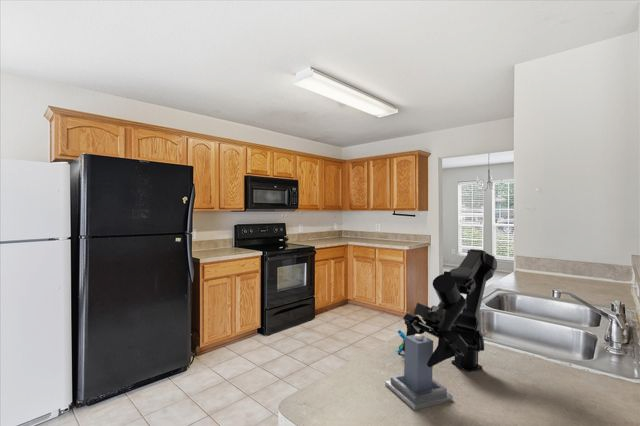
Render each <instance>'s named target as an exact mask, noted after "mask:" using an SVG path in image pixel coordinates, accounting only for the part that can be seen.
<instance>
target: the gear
mask: <svg viewBox="0 0 640 426" xmlns="http://www.w3.org/2000/svg"><path fill="white" fill-rule="evenodd" d="M397 333H398V334H399V336H400V337H401V339H402V343H401V344H399V345H398V348H399V349H398V350H397V351H396V352H397V353H398V354H399V355H400V354H401V353H402V352H404V351H403V350H402V349H403V345H404V341H405V336H406V333H404V332H402V330H401V329H399V330H397Z"/></svg>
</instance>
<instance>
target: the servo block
mask: <svg viewBox="0 0 640 426" xmlns="http://www.w3.org/2000/svg"><path fill="white" fill-rule="evenodd" d="M433 352H434V340H432V339H431V338H428V337H426V336H425V335H423V334H415V335H411V336H406V335H405V352H404V360H403V361H404V367H403V375H404V385H406V386H407V387H408V388H409V389H411V390H412V391H413V392H414V393H415V394H417V393H421V392H425V391H429V390H432V379H433V370H434V368H433V367H434V366H432V367H428V366H427V363H428V361H429V359H430V357H431V356H432V354H433Z"/></svg>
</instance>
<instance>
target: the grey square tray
mask: <svg viewBox="0 0 640 426" xmlns="http://www.w3.org/2000/svg"><path fill="white" fill-rule="evenodd" d="M384 385H385V386H387V388H388V389H389V390H391V391H392V392H393V393H394V394H395V395H396V396H397V397H399V398H400V399H401V400H402V401H403V402H404V403H406V405H408V406H409V407H410V408H411V409H412V410H413V411H418V410H421V409H426V408H429V407H432V406H436V405H440V404H443V403H446V402H451V401H453V398H454V397H453V395H452V394H451V393H449V392H448V390H447V389H448V388H446V387H445V386H444V385H442V384H441V383H440V382H438V381H437V380H435V379H434V378H432V390H429V391H425V392H421V393H417V394H415V393H414V392H413V391H412V390H411V389H409V388H408V387H407V386H406V385H404V373H401V374H397V375H392V376H390V379H388V380H385V382H384Z"/></svg>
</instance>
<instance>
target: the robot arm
mask: <svg viewBox="0 0 640 426" xmlns="http://www.w3.org/2000/svg"><path fill="white" fill-rule="evenodd" d="M497 269H498V260H497V259H496V258H495V256H494V255H492V254H490V253H487V252H486V251H485V250H483V249H475V248H470V249H468V250H467V253H466V255H465V258H464V259H463V260H462V261H461V263H460V264H459V266H457V267H455V268H452V269H450V270H449V271H447V270H445V271H443V273H442V274H439V275H437V276H436V277H435V278H434V279H433V280H432V287H433V288H434V291H435V293H436V295H437V297H438V299H439V300H440V301H439V303H438V304H437V305H432V306H431V307H429V306H428V305H425V304H422V303H421V302H417V303H416V304H415V308H414V310H413V313H412V312H408V313H407V312H406V314H405V315H404V316H403V317H402V320H403V321H404V324H405V326H406V333H405V336H411V335H415V334H421V335H423V334H424V333H427V334H429V335H432V336H433V337H435V338H438V342H437V346H436V348H435V349H434V350H433V354H432V356H431V357H430V359H429V361H428V363H427V366H428V367H432V366H433V367H434V366H436V365H438V364H439V363H443V362H444V361H446V360H448V359H451V358H453V357H454V359H453V360H451V361H450V362H451V364H453V365H456V366H457V367H458V368H460V369H461V370H464V371H466V372H472V371H476V370H480V369H483V366H482V365H481V364H479V353H480V352H484V351H485V339H484V336H483V333H482V331H481V330H482V328H481V327H480V324H479V320H478V318H479V314H480V309H481V306H482V301H483V296H484V291H485V288H486V284H487V281H489V280H491V279H492V278H493V277H494V274H495V271H497ZM463 295H466V296H465V297H464V296H463ZM420 317H421V318H420ZM402 350H403V351H402V352H404V353H405V341H404V345H403V349H402Z"/></svg>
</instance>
